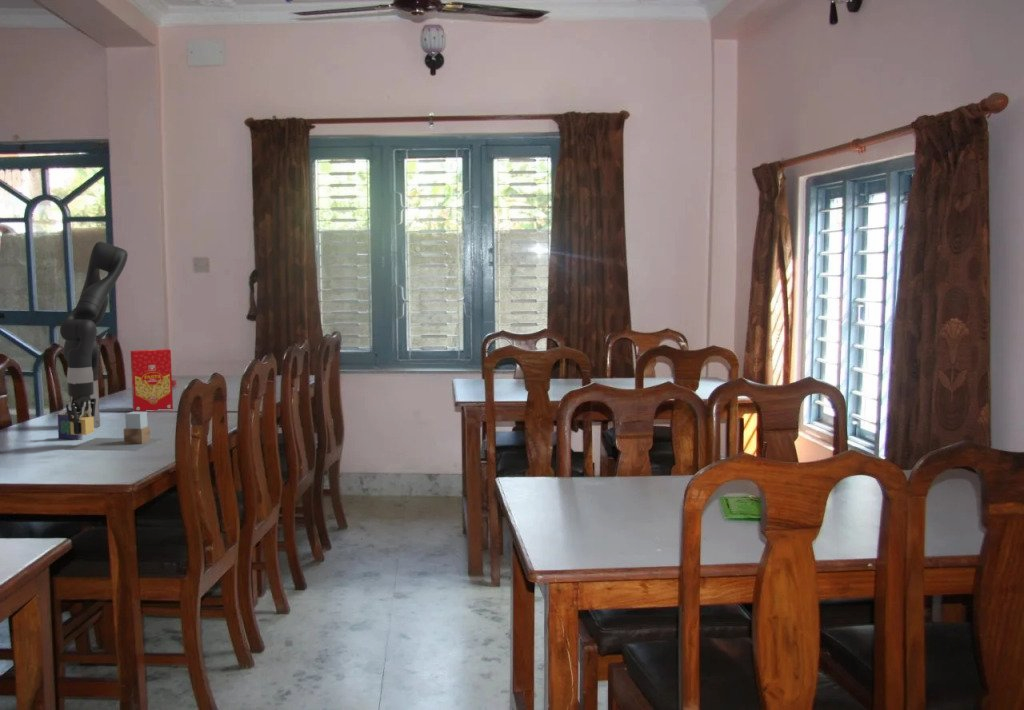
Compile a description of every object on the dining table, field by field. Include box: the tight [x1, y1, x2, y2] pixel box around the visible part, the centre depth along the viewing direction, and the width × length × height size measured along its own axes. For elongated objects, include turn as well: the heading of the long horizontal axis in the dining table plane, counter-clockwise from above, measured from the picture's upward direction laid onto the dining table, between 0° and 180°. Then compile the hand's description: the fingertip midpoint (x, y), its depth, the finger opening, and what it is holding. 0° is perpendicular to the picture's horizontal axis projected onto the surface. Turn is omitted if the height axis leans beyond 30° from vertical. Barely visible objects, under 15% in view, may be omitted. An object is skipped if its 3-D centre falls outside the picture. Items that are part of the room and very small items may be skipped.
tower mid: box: [124, 411, 149, 429], centre depth 291 cm, size 5×5×5 cm
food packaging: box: [130, 348, 174, 412], centre depth 361 cm, size 15×5×25 cm, turn 120°
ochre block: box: [70, 417, 95, 436], centre depth 285 cm, size 5×5×5 cm
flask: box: [57, 408, 84, 441], centre depth 298 cm, size 9×3×11 cm, turn 74°
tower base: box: [123, 425, 151, 444], centre depth 292 cm, size 6×6×5 cm
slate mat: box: [63, 437, 163, 452], centre depth 289 cm, size 24×20×1 cm
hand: (82, 432), depth 285 cm, fingers closed on ochre block, 5 cm apart
